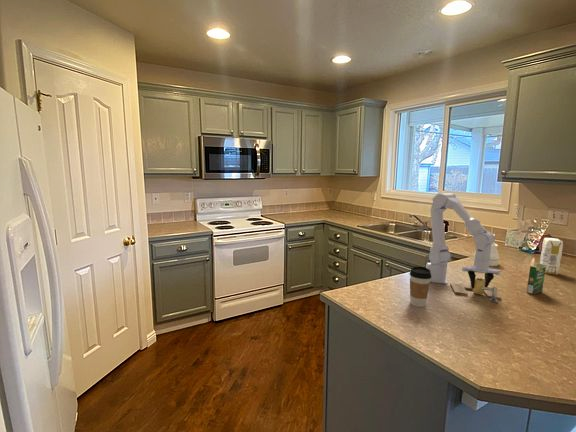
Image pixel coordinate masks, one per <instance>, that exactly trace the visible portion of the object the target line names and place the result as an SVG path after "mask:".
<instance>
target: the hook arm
mask: <svg viewBox="0 0 576 432" xmlns="http://www.w3.org/2000/svg"><path fill="white" fill-rule="evenodd" d="M481 289H483V290H491V291H492V298H487V299H488V301H489V302H490V303H498V304H499V302H500V300H497V299H496V294H497V293H498V287H496V286H493V287H482V286H481Z"/></svg>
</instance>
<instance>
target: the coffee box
mask: <svg viewBox="0 0 576 432" xmlns="http://www.w3.org/2000/svg"><path fill="white" fill-rule="evenodd" d="M545 269H546V265H542V264H540V263H538V264H534V265H530V266H529V273H528V278H527V285H526V286H527V287H526V293H527V294H529V295H535V294H536V295H537V294H541V293H542V292H543V288H544V282H545V275H546V273H545Z"/></svg>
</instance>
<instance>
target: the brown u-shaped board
mask: <svg viewBox="0 0 576 432" xmlns="http://www.w3.org/2000/svg"><path fill="white" fill-rule="evenodd" d="M450 288H451V290H452V291H453V293H454V295H456V296H462V297H468V294H469V293H468V292H467V291H471V292H473V288H472V287H471V284H464V283H463V284H462V283H454V282H450ZM483 295H484V296H485V297H486V298H487V299H488V298H492V291H491V290H484V294H483ZM496 299H497V300H498V301H502V297H501V296H500V293H498V292H497V294H496Z"/></svg>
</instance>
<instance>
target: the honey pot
mask: <svg viewBox="0 0 576 432" xmlns="http://www.w3.org/2000/svg"><path fill="white" fill-rule="evenodd" d="M493 235H494V237H495V236H496V234H494V233H493ZM490 245H491V253H490V261H489V267H496V266H498V265H499V259H500V256H499V251H498V249H497V247H498V246H499V244H497V243H495V241H494V243H492V244H490ZM473 255H474V256H473V262H474V260H475V252H474V254H473Z"/></svg>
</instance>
